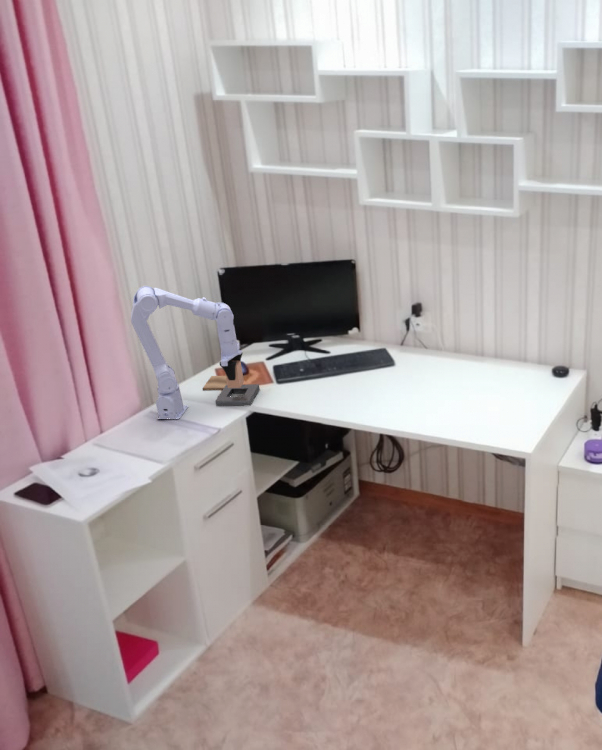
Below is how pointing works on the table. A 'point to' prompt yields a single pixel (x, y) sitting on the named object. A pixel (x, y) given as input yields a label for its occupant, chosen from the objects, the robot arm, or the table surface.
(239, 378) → the pinkish brown rectangular block
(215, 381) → the walnut pad
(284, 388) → the table surface
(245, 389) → the socket plate
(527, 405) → the table surface
